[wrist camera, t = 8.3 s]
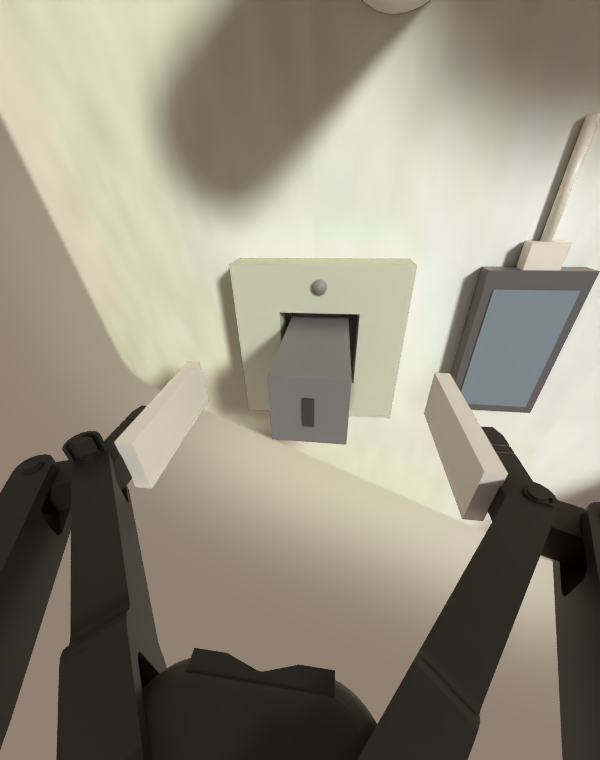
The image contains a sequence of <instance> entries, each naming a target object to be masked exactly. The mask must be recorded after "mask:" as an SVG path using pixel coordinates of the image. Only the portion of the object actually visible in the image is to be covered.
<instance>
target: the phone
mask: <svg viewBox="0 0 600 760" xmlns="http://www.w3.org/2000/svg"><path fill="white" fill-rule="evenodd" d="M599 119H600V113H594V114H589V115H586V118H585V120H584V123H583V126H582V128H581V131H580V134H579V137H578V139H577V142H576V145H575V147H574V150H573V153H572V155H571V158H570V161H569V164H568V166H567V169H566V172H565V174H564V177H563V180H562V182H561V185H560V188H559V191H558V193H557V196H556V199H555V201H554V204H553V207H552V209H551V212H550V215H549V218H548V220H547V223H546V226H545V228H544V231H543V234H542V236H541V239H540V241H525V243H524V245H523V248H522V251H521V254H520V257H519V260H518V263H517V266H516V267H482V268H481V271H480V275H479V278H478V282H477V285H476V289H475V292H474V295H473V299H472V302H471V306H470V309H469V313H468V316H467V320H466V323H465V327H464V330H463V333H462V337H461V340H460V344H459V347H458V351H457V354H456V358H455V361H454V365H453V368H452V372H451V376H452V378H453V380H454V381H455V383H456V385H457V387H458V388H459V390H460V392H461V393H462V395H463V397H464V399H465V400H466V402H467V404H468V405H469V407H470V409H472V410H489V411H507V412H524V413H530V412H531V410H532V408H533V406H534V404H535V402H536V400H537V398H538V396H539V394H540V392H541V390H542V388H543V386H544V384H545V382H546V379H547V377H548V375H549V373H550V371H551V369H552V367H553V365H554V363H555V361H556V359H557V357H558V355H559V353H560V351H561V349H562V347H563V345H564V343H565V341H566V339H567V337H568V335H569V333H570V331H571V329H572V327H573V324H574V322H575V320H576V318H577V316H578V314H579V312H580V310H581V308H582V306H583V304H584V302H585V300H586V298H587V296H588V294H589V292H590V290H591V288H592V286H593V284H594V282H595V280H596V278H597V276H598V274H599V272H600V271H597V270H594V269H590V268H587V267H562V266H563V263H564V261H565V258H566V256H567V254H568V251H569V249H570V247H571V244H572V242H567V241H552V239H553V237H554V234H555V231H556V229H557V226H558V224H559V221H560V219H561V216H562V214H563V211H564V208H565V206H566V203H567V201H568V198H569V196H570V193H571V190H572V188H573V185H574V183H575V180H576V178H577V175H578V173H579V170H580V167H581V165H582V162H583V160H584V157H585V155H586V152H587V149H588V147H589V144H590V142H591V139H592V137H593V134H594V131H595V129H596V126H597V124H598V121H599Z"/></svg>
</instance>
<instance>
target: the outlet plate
mask: <svg viewBox="0 0 600 760" xmlns="http://www.w3.org/2000/svg"><path fill="white" fill-rule="evenodd" d="M229 266H230V274H231V281H232V289H233V296H234V304H235V311H236V318H237V326H238V333H239V341H240V348H241V356H242V363H243V370H244V378H245V385H246V393H247V400H248V408H249V409H250V410H266V411H270V408H269V397H268V386H267V374H268V372H269V370H270V367H271V365H272V363H273V360H274V358H275V356H276V353H277V351H278V348H279V346H280V344H281V341H282V339H283V337H284V334H285V332H286V314H285V313H321V314H357V324H356V335H355V347H354V358H353V369H351V377H352V382H351V394H350V405H349V416H363V417H379V418H390V413H391V408H392V402H393V397H394V391H395V385H396V380H397V374H398V369H399V363H400V358H401V352H402V347H403V341H404V335H405V330H406V324H407V319H408V313H409V308H410V302H411V297H412V291H413V286H414V280H415V274H416V269H417V265H416V264H415V263H414V262H413V261H412V260H411V259H352V258H239V259H238V260H236V261H234V262H232V263H231V264H229Z"/></svg>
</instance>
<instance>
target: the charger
mask: <svg viewBox="0 0 600 760" xmlns="http://www.w3.org/2000/svg"><path fill="white" fill-rule="evenodd" d="M351 382H352V377H351V358H350V338H349V318H348V314H321V313H293V316H292V318H291V320H290V323H289V325H288V327H287V330H286V332H285V334H284V337H283V339H282V341H281V344H280V346H279V348H278V351H277V353H276V356H275V358H274V360H273V363H272V365H271V367H270V370H269V372H268V374H267V386H268V397H269V408H270V419H271V430H272V439H278V440H292V441H305V442H319V443H333V444H346V440H347V428H348V417H349V405H350V394H351Z"/></svg>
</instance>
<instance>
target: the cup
mask: <svg viewBox="0 0 600 760" xmlns="http://www.w3.org/2000/svg"><path fill="white" fill-rule="evenodd" d="M363 1H364V2H365V3H366V4H367V5H368V6H370V7H371V8H373V9H375V10H377V11H380V12H383V13H388V14H400V13H405V12H409V11H412V10H414V9H416V8H418V7H420V6H422V5H424V4H425V3H427V2H428V1H429V0H363Z"/></svg>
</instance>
